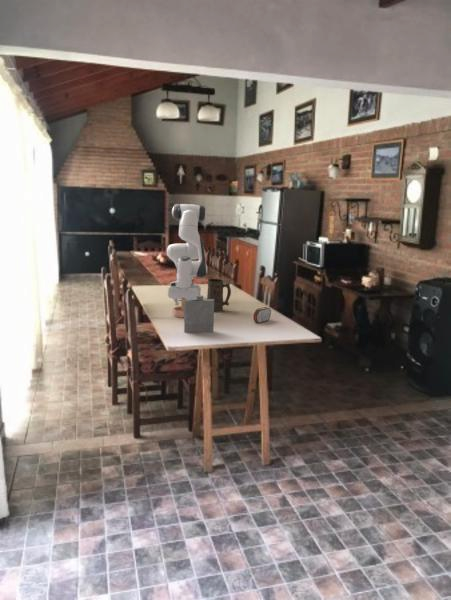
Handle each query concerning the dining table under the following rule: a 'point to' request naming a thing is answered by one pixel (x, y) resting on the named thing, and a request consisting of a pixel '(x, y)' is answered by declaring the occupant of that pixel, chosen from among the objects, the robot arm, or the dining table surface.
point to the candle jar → (178, 312)
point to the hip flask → (199, 315)
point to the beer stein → (218, 293)
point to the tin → (262, 314)
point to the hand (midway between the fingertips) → (184, 306)
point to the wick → (183, 304)
